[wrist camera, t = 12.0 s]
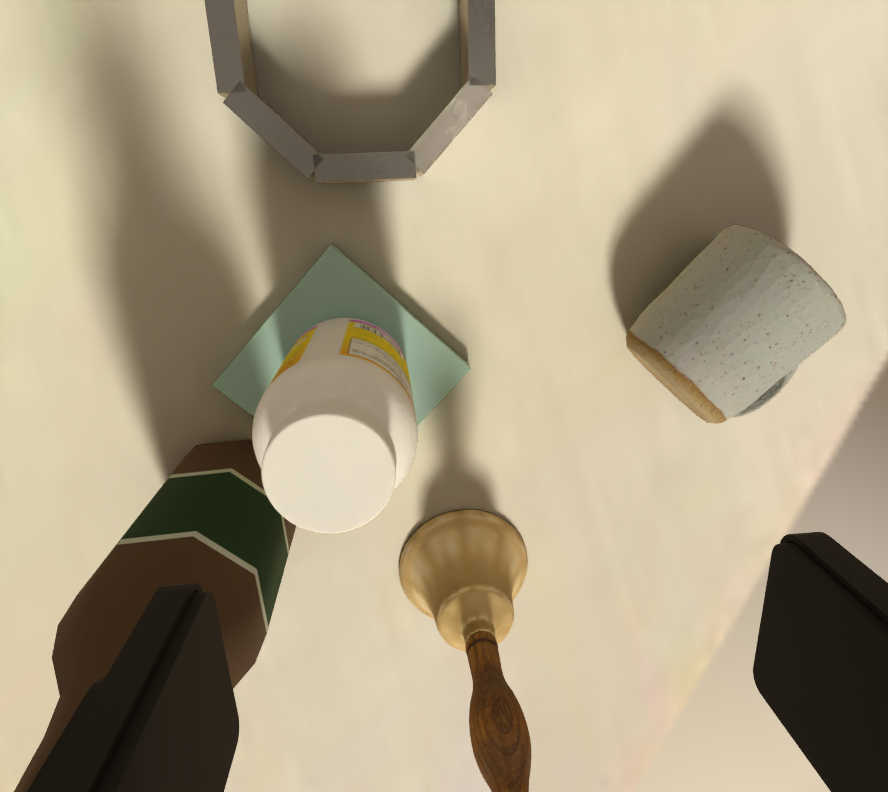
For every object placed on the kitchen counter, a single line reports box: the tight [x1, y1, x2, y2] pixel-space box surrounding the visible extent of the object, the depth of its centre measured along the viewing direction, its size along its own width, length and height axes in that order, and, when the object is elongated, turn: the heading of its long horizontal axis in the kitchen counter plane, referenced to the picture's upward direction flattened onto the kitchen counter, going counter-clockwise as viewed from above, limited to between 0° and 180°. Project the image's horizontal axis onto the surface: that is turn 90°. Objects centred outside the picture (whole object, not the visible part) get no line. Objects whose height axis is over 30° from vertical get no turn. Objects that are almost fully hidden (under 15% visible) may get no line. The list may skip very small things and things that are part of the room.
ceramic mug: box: [626, 225, 846, 423], centre depth 32 cm, size 11×8×8 cm
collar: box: [205, 0, 496, 184], centre depth 28 cm, size 12×12×3 cm
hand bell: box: [399, 510, 531, 792], centre depth 31 cm, size 8×8×16 cm
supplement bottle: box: [252, 318, 418, 533], centre depth 27 cm, size 7×7×13 cm
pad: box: [212, 244, 471, 426], centre depth 34 cm, size 10×10×1 cm
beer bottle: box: [14, 440, 296, 792], centre depth 24 cm, size 8×8×24 cm
